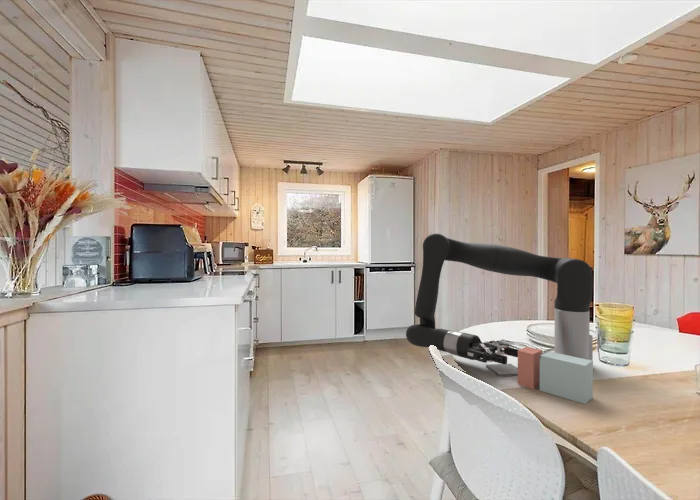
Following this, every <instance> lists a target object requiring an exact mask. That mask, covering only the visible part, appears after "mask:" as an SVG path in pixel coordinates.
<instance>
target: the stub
mask: <svg viewBox="0 0 700 500" xmlns="http://www.w3.org/2000/svg"><path fill="white" fill-rule="evenodd" d="M541 354H543V350H542V349H539V348H534V347H530V346H524V347H523V348H520V349H519V350H518V357H517V368H518V376H517V385H520V386H523V387H527V388H529V389H533V390H534V389H536V388H537V387H539V386H540V359H539V355H541Z"/></svg>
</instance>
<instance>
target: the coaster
mask: <svg viewBox="0 0 700 500" xmlns="http://www.w3.org/2000/svg"><path fill="white" fill-rule="evenodd" d="M485 367H486V368H488V369H489V370H490V371H491V372H492V373H494V374H496V375H497V376H498V377H514V376H515V377H516V376H517V377H518V366H515V365H513V364H512V363H507V364H501V363H493V364H485Z"/></svg>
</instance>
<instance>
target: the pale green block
mask: <svg viewBox="0 0 700 500" xmlns="http://www.w3.org/2000/svg"><path fill="white" fill-rule="evenodd" d="M539 359H540V385H538V386H537V387H535V390H538V391H541V392H543V393H547V394H550V395H554V396H557V397H561V398H564V399H568V400H570V401H573V402H577V403H580V404H584V405H587V404H588V403H589V402H590V400H592V399H593V398H594V390H593V389H594V388H593V387H594V385H593V384H594V380H593V379H594V375H593V374H594V361H592V360H587V359H583V358H578V357H573V356H569V355H564V354H559V353H555V352H554V351H550V350H547V351H545V352H542V354H541V355H539Z"/></svg>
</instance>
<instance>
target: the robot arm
mask: <svg viewBox="0 0 700 500" xmlns="http://www.w3.org/2000/svg"><path fill="white" fill-rule="evenodd" d="M423 240H424V241H423V243H422V270H421V275H420V282H419V287H418V291H417V294H416V295H417V296H416V301H415V307H414V315H415V316H416V317H417V318H419V324H417V323H416V324H412V325H410V326H408V328H407V329H406V332H405V337H406V339H407V341H408V342H409V343H410V344H411V345H413V346H416V347H422V348H427V349H428V347H429V346H430V345H434V346H436V347H437V349H436V350H438V351H441V352H445V353H448V354H451V355H453V356H456V357H460V358H464V359H467V360H471V361H477V362H480V363H484V364H486V363H488V362H489V363H492V362H494V363H496V364H508V356H510V357H514V358H518V350H520V349H519V348H515V347H510V344H509V343H504V342H499V341H494V340H489V341H483V342H482V339H481V338H480V337H479V336H478V335H476V334H472V333H467V332H462V331H457V330H449V329H443V328H436V318H435V317H436V316H435V314H436V309H437V305H438V304H437V303H438V297H439V287H440V278H441V272H442V268H443V266H444V263H445V261H446V262H447V261H448V262H454V263H455V262H456V263H462V264H465V265H469V266H472V267H474V268H477V269H481V270H483V271H484V270H485V271H488V272H493V273H497V274H501V275H502V274H503V275H509V276H519V277H533V278H538V279H542V280H545V281H549V282H552V283H556V284H557V286H556V287H557V288H556V292H557V293H556V297H555V299H554V346H553V349H554V351H553V352H555V353H559V354H564V355H569V356H573V357H578V358H583V359H587V360H592V361H593V357H594V356H593V348H594V347H593V346H594V345H593V343H594V342H593V335H592V334H590V321H591V320H590V309H591V303H592V300H593V287H594V286H593V283H594V280H593V278H594V277H593V270H592V268H591V266H590V265H589V264H588V262H586V261H585V260H582V259H580V258H570V257H565V258H564V257H553V256H544V255H539V254H534V253H531V252H528V251H525V250H522V249H518V248H515V247H509V246H506V245H500V244H493V243H483V242H478V243H477V242H465V241H460V240H456V239H452V238H451V237H450V238H449V237H446V236H445V235H443V234H441V233H437V232H436V233H431V234H429V235H427V236H426V237H425V238H424V239H423ZM593 362H594V361H593Z"/></svg>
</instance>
